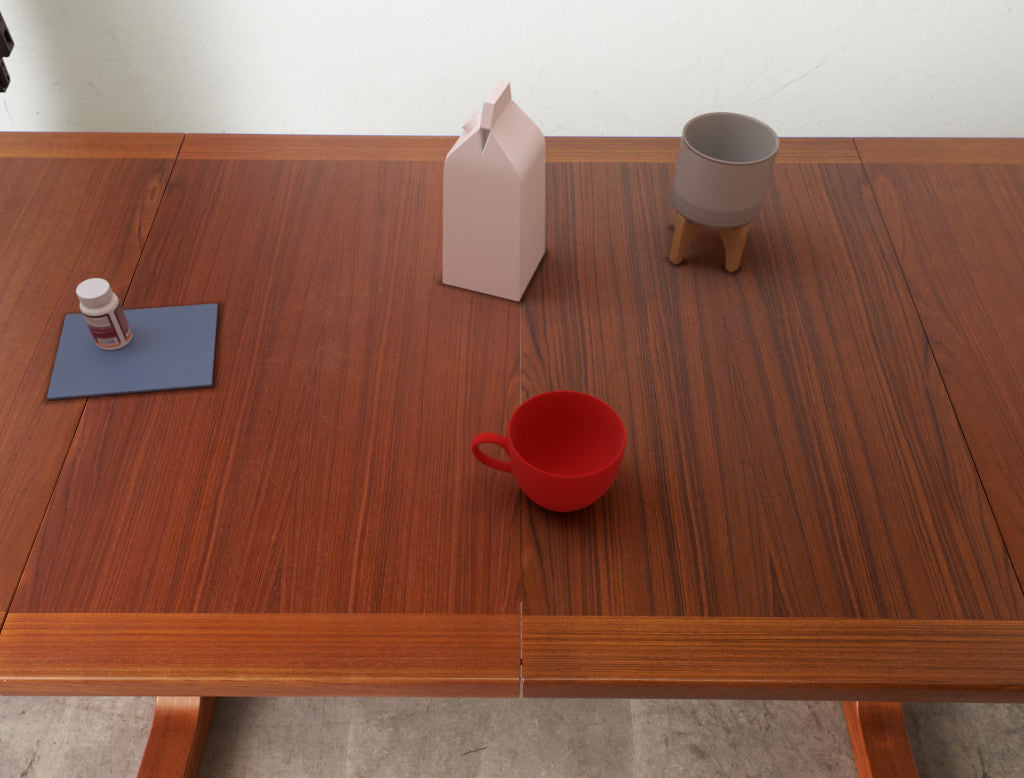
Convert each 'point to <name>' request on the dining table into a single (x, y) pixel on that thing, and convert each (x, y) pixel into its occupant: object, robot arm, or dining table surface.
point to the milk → (494, 200)
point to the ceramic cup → (560, 449)
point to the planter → (721, 180)
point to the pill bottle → (103, 314)
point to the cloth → (138, 354)
